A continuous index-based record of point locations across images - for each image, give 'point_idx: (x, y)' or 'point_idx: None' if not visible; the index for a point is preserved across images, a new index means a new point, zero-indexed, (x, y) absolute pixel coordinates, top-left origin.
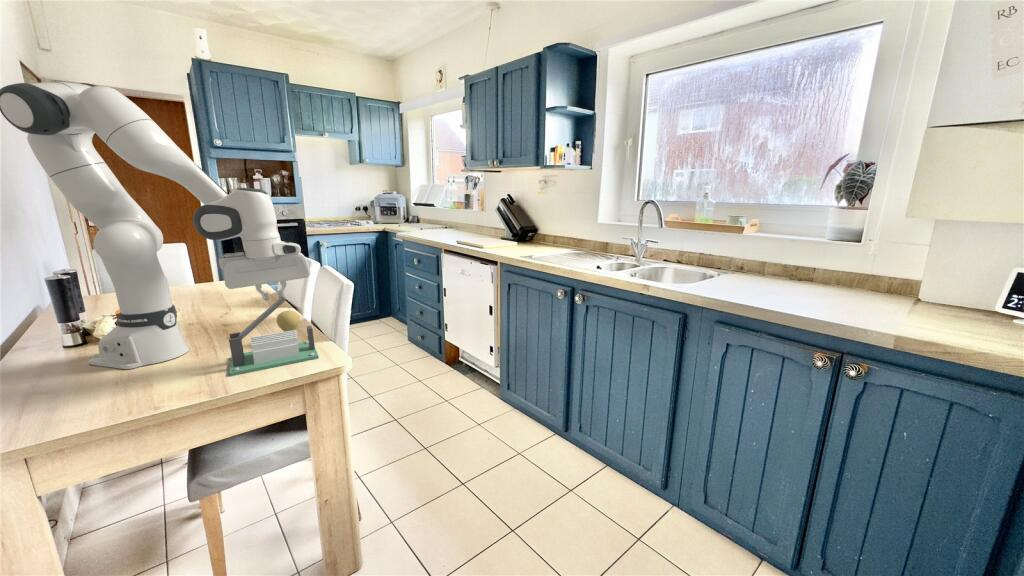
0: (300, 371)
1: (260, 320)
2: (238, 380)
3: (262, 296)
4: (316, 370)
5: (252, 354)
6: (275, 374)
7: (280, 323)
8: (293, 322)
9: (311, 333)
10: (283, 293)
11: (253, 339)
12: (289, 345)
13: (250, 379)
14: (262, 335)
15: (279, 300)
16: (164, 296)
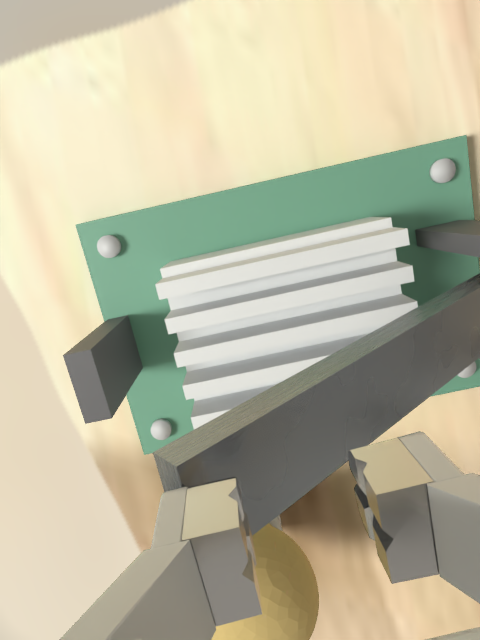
0: (142, 73)
1: (392, 329)
2: (414, 67)
3: (447, 457)
4: (64, 56)
5: None
6: (256, 79)
7: (290, 549)
8: None
9: (83, 342)
10: (158, 518)
11: None
12: (205, 261)
13: (362, 58)
14: None
15: (230, 456)
16: None
